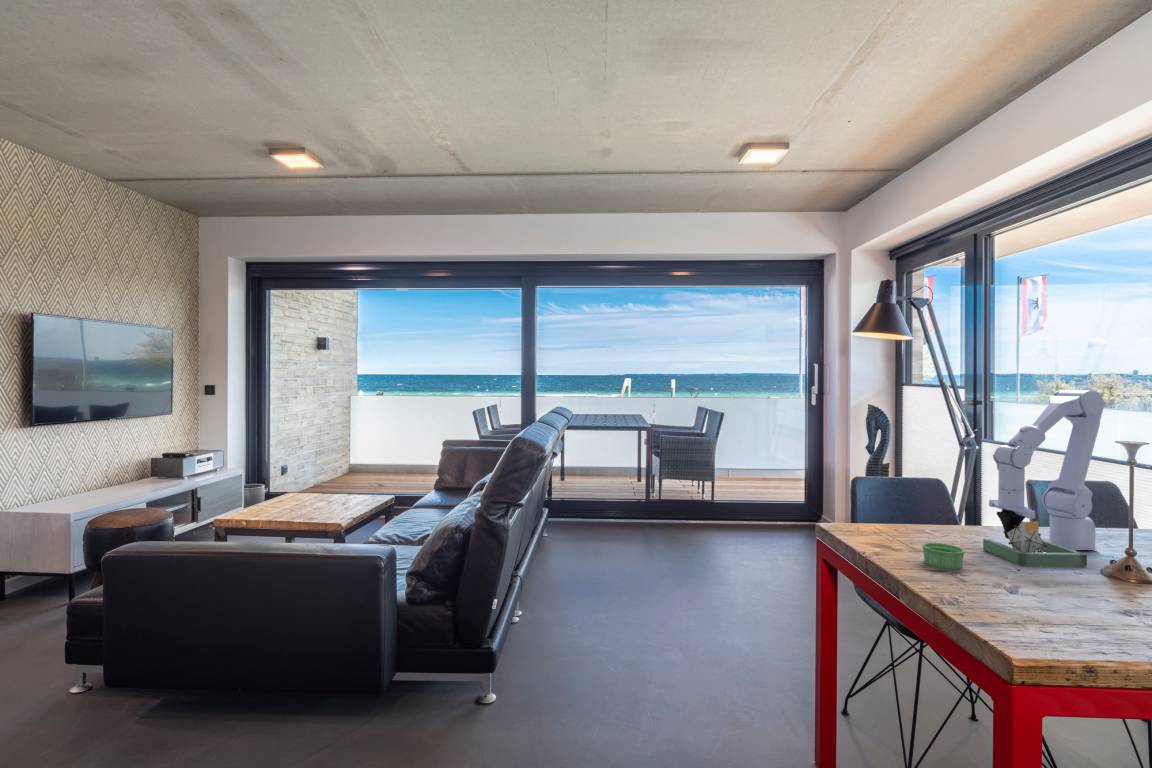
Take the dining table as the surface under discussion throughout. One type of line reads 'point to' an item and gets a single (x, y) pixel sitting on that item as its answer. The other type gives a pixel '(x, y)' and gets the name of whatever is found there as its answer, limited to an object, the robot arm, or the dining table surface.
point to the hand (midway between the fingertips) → (1010, 538)
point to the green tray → (1052, 557)
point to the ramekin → (943, 555)
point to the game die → (1031, 539)
